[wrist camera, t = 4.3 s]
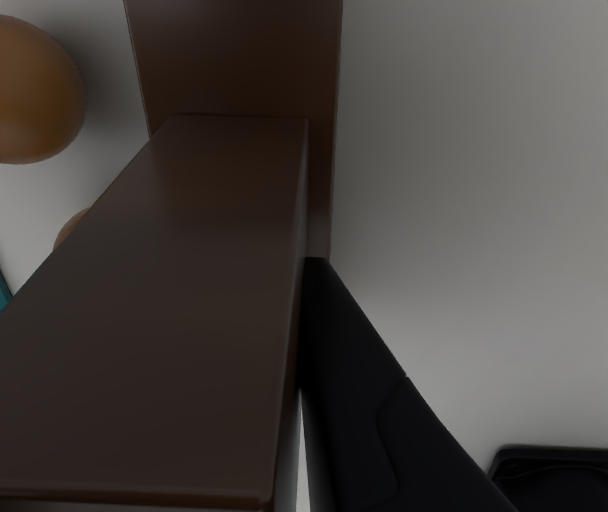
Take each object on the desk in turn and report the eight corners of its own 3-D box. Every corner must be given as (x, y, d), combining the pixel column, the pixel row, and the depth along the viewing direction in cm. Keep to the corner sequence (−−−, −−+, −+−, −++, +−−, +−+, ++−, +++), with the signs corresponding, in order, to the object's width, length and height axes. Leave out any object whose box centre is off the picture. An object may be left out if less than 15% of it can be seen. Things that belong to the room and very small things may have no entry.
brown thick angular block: (341, -59, 9) (438, -1, 1) (324, 318, 15) (320, 757, 7) (163, -60, 9) (-863, -20, 1) (215, 314, 15) (88, 742, 7)
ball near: (89, 5, 11) (13, 27, 8) (120, 137, 13) (65, 189, 10) (-44, 3, 11) (-162, 25, 8) (5, 134, 13) (-78, 185, 10)
